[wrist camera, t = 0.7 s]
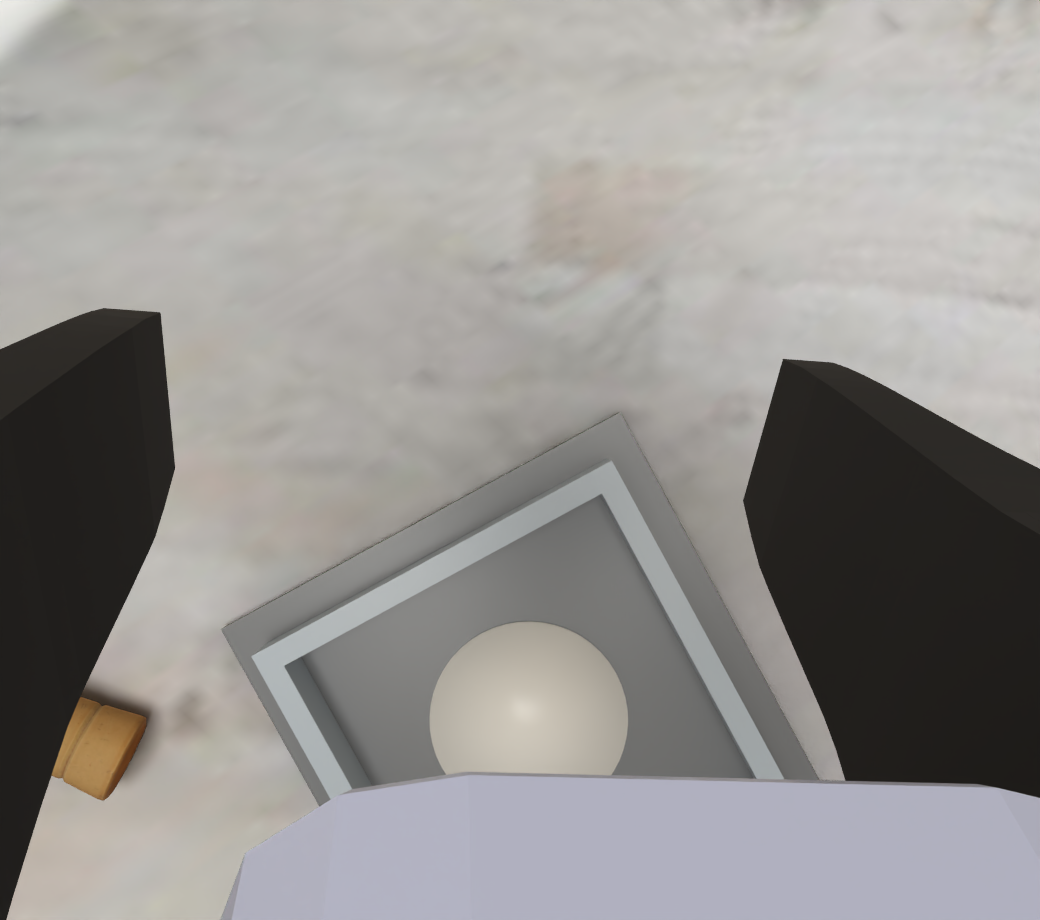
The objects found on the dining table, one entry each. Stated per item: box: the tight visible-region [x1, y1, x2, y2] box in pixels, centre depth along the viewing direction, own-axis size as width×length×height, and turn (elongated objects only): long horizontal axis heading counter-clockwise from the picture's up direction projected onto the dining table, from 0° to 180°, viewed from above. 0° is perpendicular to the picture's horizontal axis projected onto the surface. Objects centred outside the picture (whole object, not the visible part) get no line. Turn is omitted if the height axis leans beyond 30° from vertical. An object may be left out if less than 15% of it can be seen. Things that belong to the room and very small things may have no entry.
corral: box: [221, 412, 819, 806], centre depth 33 cm, size 16×16×2 cm
